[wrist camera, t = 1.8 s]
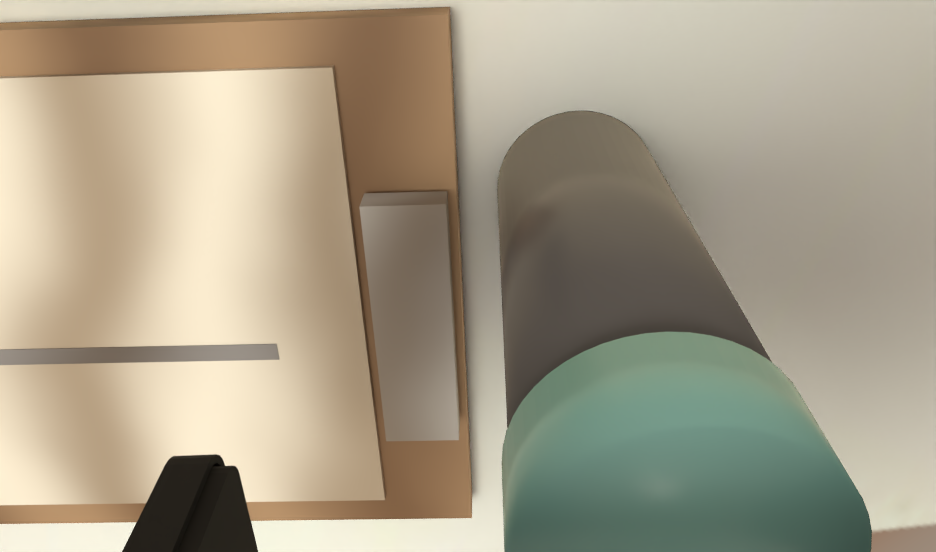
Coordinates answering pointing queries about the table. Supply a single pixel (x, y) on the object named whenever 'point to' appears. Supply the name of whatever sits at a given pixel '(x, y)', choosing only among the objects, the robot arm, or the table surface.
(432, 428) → the clipboard
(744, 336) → the marker
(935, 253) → the table surface
